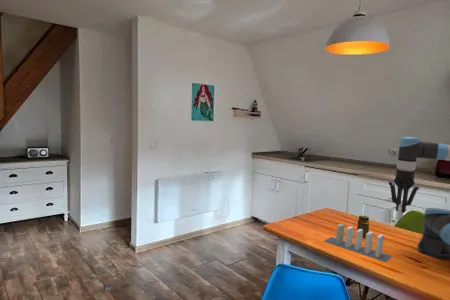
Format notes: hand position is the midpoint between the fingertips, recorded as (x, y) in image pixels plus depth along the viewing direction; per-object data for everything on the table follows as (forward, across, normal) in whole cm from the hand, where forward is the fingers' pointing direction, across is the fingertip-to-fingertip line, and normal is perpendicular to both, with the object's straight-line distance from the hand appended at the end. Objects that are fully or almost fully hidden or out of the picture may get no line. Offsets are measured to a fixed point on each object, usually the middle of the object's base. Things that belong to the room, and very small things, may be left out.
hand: (399, 218), depth 147 cm
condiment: (+21, +23, -15) cm, 35 cm away
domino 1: (+21, +26, +4) cm, 34 cm away
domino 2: (+21, +21, +4) cm, 30 cm away
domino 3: (+21, +16, +3) cm, 26 cm away
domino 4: (+21, +11, +3) cm, 24 cm away
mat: (+21, +17, +3) cm, 27 cm away
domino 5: (+20, +6, +3) cm, 21 cm away
